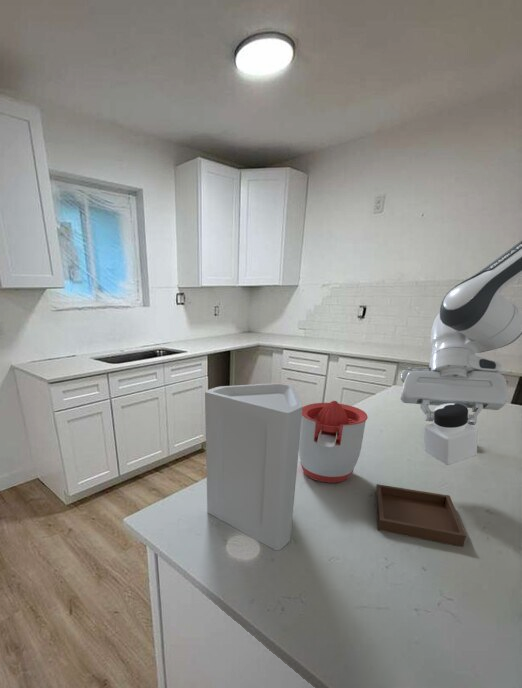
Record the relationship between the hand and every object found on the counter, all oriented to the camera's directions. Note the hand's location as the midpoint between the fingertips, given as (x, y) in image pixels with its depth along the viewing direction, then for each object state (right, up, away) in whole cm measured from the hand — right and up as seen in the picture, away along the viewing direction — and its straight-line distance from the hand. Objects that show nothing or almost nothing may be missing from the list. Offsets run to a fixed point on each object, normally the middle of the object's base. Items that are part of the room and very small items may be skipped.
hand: (450, 422), depth 81 cm
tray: (-10, -20, -4) cm, 23 cm away
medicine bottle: (+2, -7, +2) cm, 8 cm away
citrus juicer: (-23, -13, +14) cm, 30 cm away
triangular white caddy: (-43, -21, -1) cm, 47 cm away
